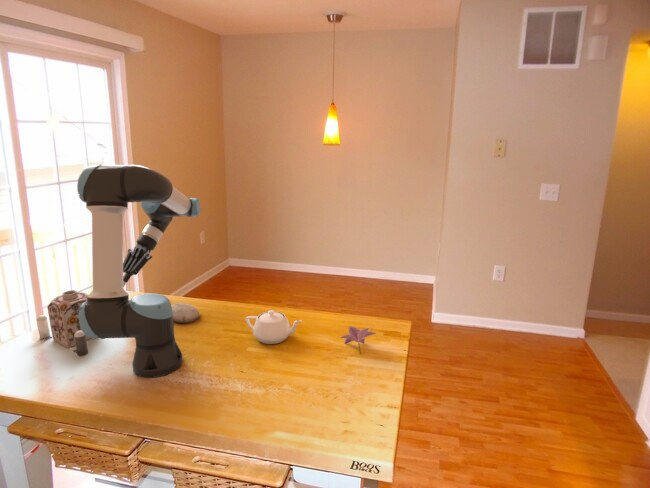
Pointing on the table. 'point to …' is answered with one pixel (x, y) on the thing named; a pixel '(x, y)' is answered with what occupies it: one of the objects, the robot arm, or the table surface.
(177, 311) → the stone
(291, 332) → the teapot
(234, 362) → the table surface
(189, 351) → the table surface
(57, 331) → the decorative jar
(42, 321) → the salt shaker
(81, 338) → the pepper shaker
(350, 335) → the lily
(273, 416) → the table surface
